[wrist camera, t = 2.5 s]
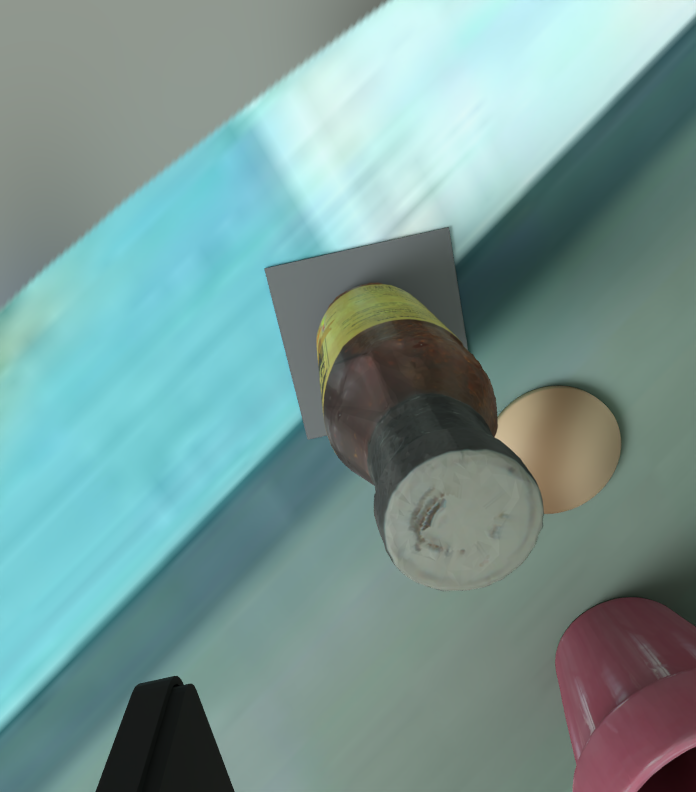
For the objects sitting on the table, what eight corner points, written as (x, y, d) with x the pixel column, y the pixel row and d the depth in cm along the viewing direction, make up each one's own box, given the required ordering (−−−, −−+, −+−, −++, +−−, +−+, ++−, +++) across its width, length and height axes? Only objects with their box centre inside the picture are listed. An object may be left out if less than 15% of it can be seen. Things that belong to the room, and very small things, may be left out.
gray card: (448, 227, 32) (448, 227, 31) (475, 402, 35) (476, 402, 34) (264, 268, 32) (264, 268, 32) (307, 438, 35) (307, 439, 35)
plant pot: (500, 590, 39) (584, 766, 26) (713, 537, 38) (900, 692, 26) (533, 752, 43) (619, 969, 31) (726, 707, 42) (890, 908, 30)
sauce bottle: (293, 325, 32) (259, 486, 14) (387, 255, 32) (488, 324, 13) (363, 415, 34) (418, 669, 15) (453, 351, 33) (630, 538, 14)
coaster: (611, 372, 34) (615, 375, 34) (620, 493, 37) (625, 498, 36) (475, 402, 35) (478, 405, 34) (494, 521, 37) (497, 525, 36)
